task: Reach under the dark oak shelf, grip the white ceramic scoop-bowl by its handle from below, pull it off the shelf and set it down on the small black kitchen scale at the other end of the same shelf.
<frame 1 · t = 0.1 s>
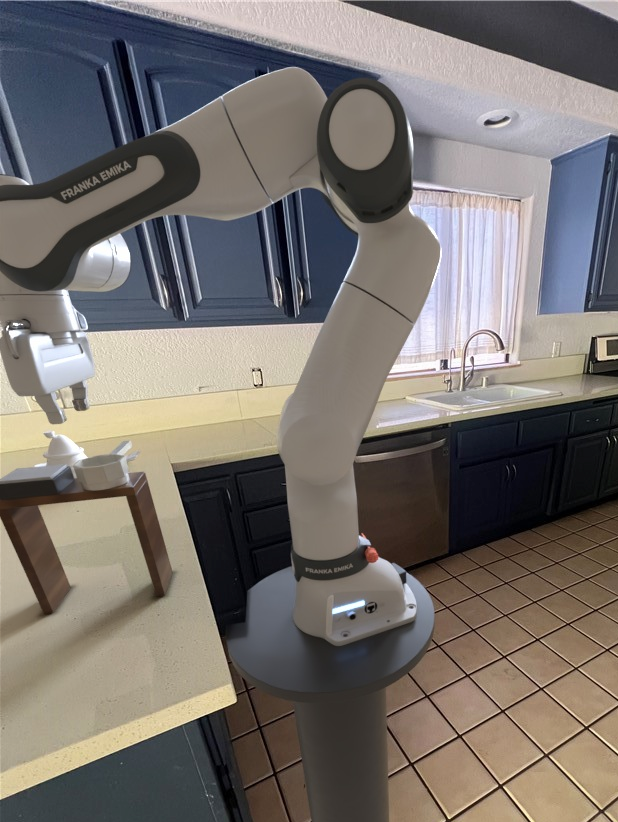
hand: (71, 416, 66), 34 cm above the counter, tool pointing down, fingers open, 8 cm apart
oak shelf: (112, 592, 81), on the counter
scoop bowl: (106, 482, 73), point 22 cm above the counter, touching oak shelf
kitchen scale: (39, 489, 71), resting on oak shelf
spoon: (89, 467, 150), on the counter
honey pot: (77, 488, 132), on the counter
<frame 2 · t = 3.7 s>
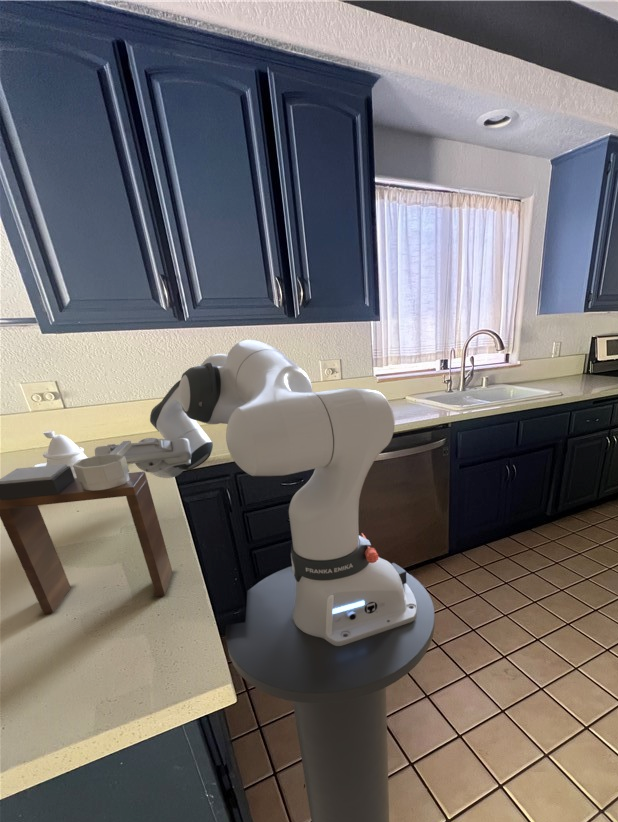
hand: (134, 445, 95), 22 cm above the counter, tool pointing upward, fingers open, 8 cm apart
nothing on the counter moved.
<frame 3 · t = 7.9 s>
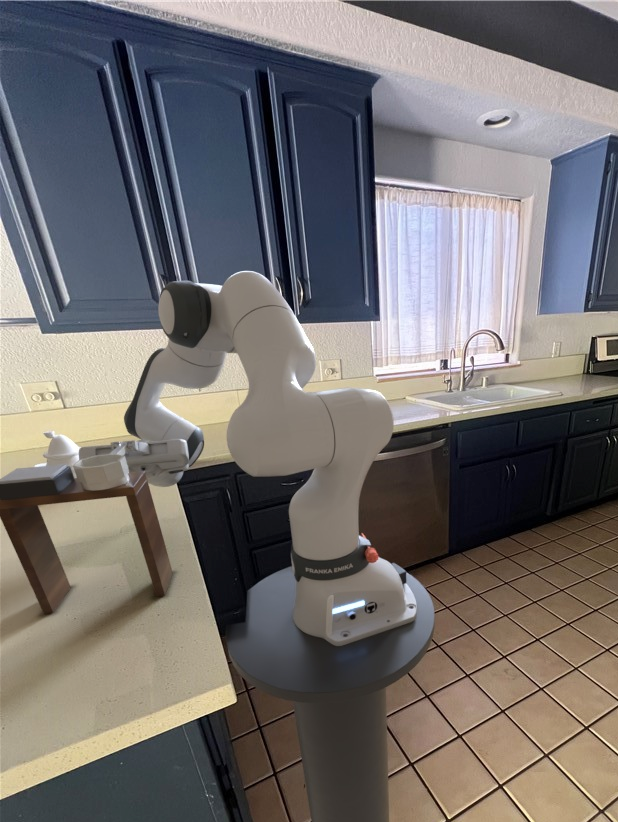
hand: (123, 445, 83), 25 cm above the counter, tool pointing upward, fingers closed on scoop bowl
scoop bowl: (106, 482, 73), point 22 cm above the counter, touching gripper, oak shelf
everything else where it was.
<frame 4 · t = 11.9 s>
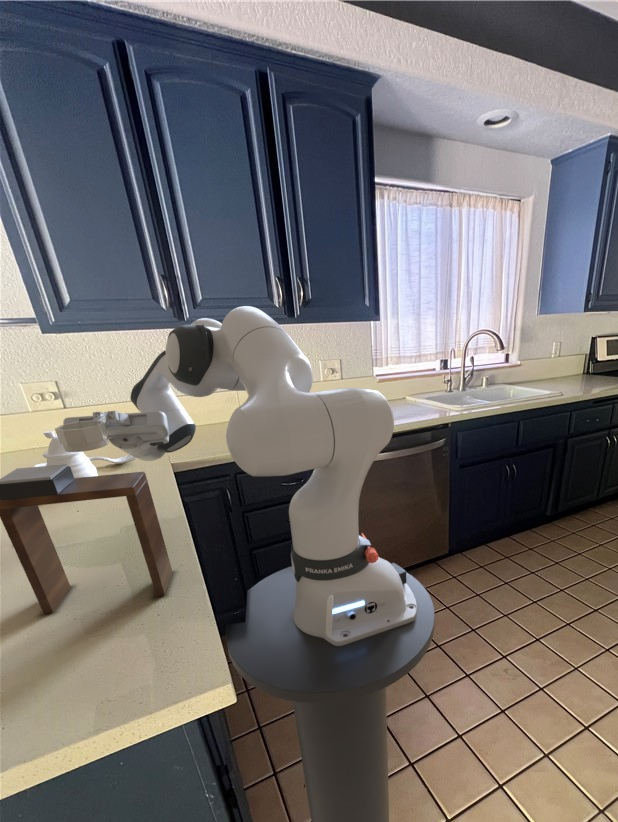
hand: (104, 414, 89), 29 cm above the counter, tool pointing upward, fingers closed on scoop bowl
scoop bowl: (87, 446, 79), point 26 cm above the counter, touching gripper
everything else where it was.
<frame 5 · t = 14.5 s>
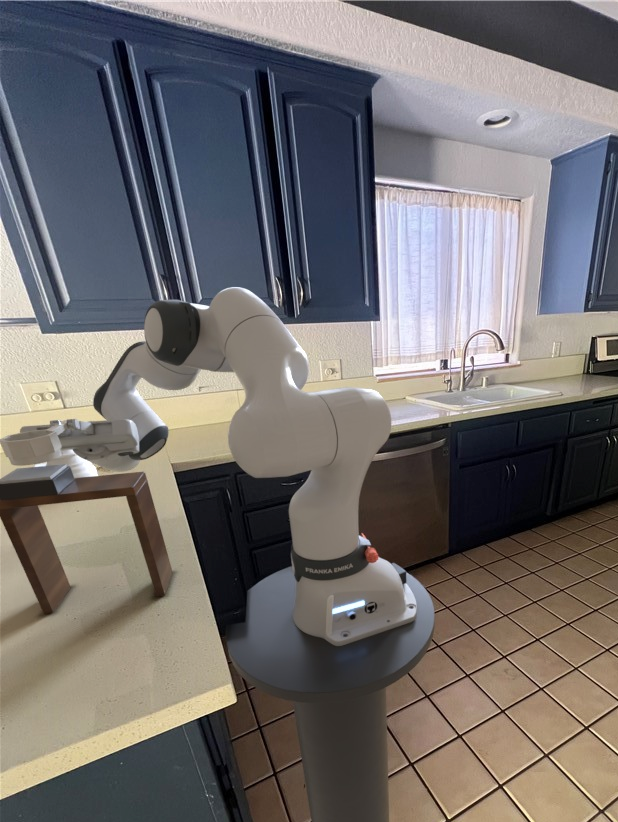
hand: (62, 423, 81), 29 cm above the counter, tool pointing upward, fingers closed on scoop bowl
scoop bowl: (37, 458, 71), point 26 cm above the counter, touching gripper
everything else where it was.
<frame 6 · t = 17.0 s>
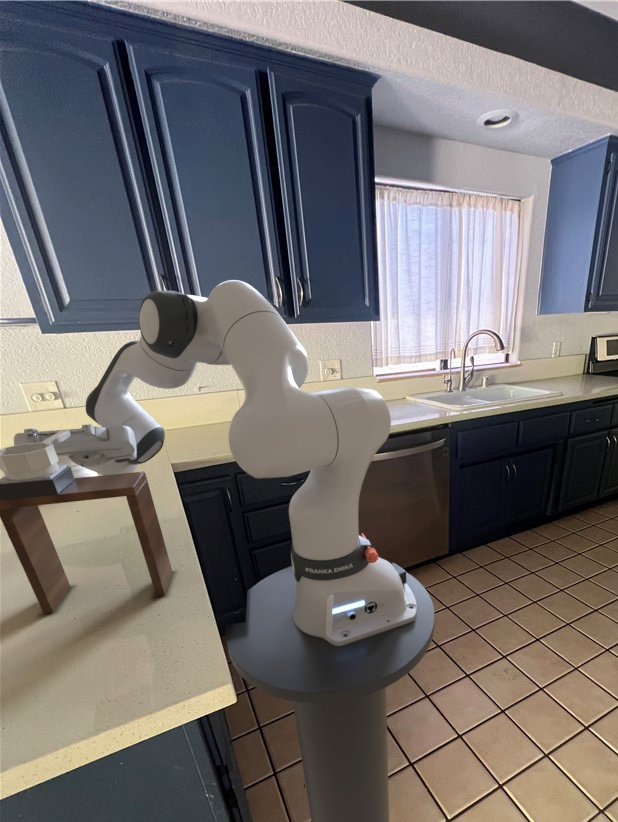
hand: (57, 430, 79), 29 cm above the counter, tool pointing upward, fingers open, 8 cm apart
scoop bowl: (33, 472, 69), point 25 cm above the counter, touching kitchen scale
everything else where it was.
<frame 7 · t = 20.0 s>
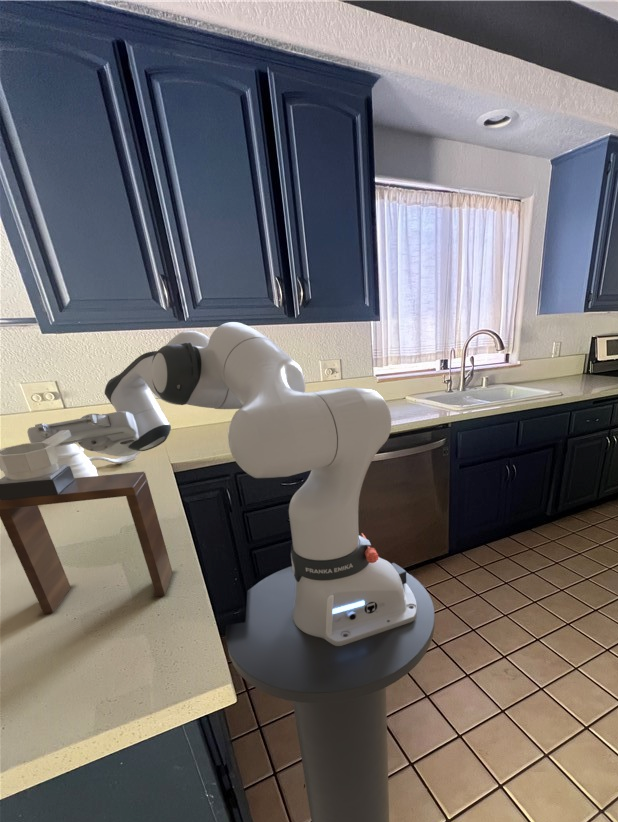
hand: (64, 423, 87), 28 cm above the counter, tool pointing upward, fingers open, 8 cm apart
nothing on the counter moved.
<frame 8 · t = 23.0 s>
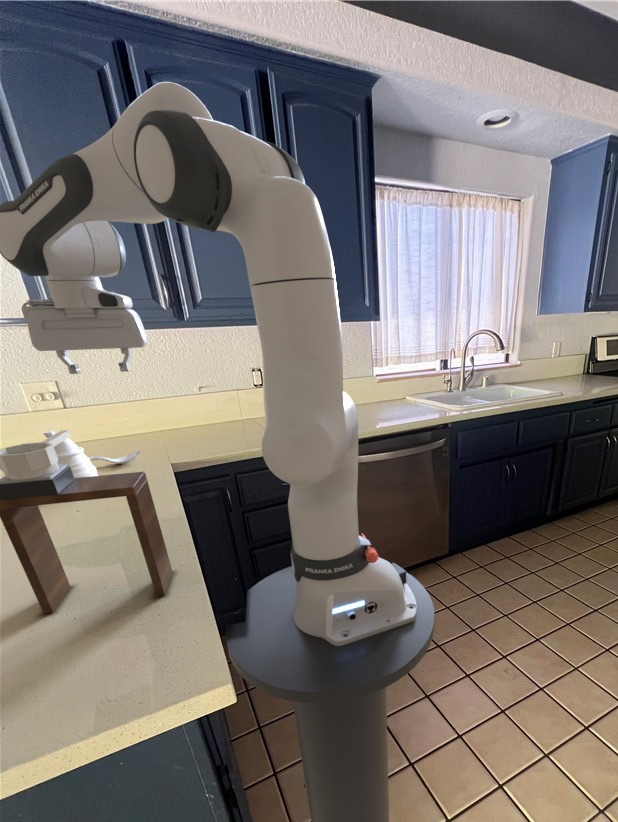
hand: (100, 372, 89), 37 cm above the counter, tool pointing down, fingers open, 8 cm apart
nothing on the counter moved.
at the end: scoop bowl 0.3 cm off-centre on the kitchen scale, point 3.0 cm above the kitchen scale's base; scoop bowl tilted 0°; the gripper is holding nothing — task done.
